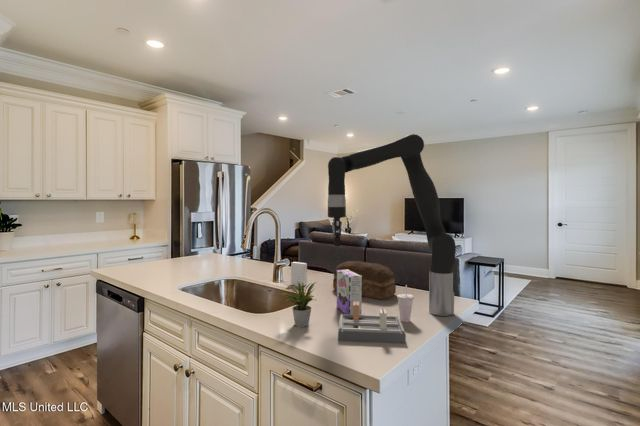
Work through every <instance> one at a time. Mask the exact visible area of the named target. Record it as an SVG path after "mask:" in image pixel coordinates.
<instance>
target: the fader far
mask: <svg viewBox="0 0 640 426" xmlns="http://www.w3.org/2000/svg"><path fill="white" fill-rule="evenodd" d="M353 320H359V302H357V301H356V302H353Z"/></svg>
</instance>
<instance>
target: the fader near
mask: <svg viewBox="0 0 640 426" xmlns="http://www.w3.org/2000/svg"><path fill="white" fill-rule="evenodd" d="M379 315H380V318H379V325H380V329H386V326H387V316H388V315H387V310H386V309H384V308H380V309H379Z"/></svg>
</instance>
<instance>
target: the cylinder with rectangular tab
mask: <svg viewBox="0 0 640 426" xmlns="http://www.w3.org/2000/svg"><path fill="white" fill-rule="evenodd" d="M290 265H291V267H290V271H291V272H290V286H292V285H294V284H295V285H296V286H297V287H298V282H299V283H300V284H301V287H302V283H303V284H304V285H306V286H308V264H307V262H301V261H300V262H299V261H293V262H292V261H291V264H290ZM295 285H294V286H293V287H296V286H295Z"/></svg>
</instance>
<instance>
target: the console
mask: <svg viewBox="0 0 640 426" xmlns="http://www.w3.org/2000/svg"><path fill="white" fill-rule="evenodd" d="M379 318H380V314H361V315H359V320H353V314H345V313H344V314H343V313H341V314H340V316H339V321H338V330H337V340H338V341H345V342H346V341H348V342H349V341H350V342H370V343H371V342H372V343H389V344H390V343H394V344H395V343H396V344H406V339H407V337H406V335H407V334H406V332H405V328H404V326H403V324H402V321H400V315H387V326H386V329H380V325H379Z"/></svg>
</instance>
